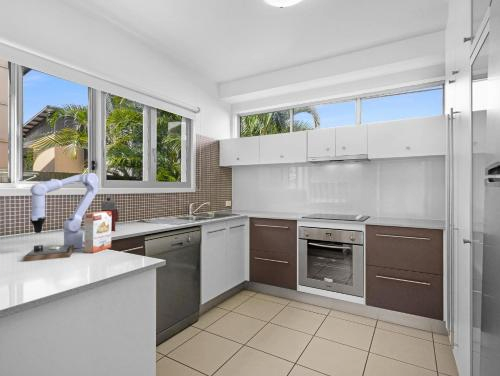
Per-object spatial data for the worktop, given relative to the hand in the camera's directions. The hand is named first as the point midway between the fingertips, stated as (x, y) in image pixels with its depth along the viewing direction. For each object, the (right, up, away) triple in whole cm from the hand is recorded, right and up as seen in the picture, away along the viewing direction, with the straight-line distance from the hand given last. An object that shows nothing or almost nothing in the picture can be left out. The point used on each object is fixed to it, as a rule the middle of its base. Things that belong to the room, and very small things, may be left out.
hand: (38, 232), depth 144 cm
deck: (+11, -8, -6) cm, 15 cm away
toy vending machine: (+3, -10, +68) cm, 69 cm away
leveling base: (+11, -11, -6) cm, 16 cm away
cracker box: (+28, -11, +6) cm, 31 cm away
